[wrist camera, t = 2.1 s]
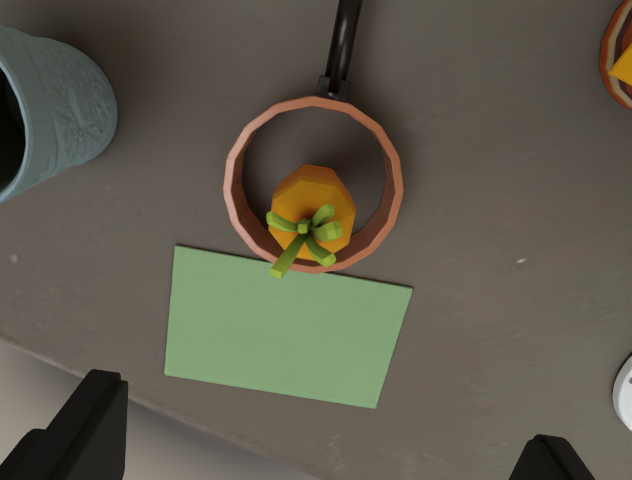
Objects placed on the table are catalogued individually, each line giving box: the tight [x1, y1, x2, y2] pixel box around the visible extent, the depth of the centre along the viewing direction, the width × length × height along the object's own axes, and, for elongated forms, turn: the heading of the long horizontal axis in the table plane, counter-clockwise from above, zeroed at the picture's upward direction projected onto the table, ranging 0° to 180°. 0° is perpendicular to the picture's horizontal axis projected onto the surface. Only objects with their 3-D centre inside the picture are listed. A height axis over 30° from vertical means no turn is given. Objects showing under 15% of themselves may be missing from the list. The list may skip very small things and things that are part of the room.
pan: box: [223, 0, 404, 274], centre depth 29 cm, size 22×12×4 cm, turn 169°
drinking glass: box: [0, 24, 118, 204], centre depth 25 cm, size 10×10×12 cm
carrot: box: [266, 164, 356, 278], centre depth 26 cm, size 5×5×15 cm
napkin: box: [164, 245, 413, 409], centre depth 37 cm, size 20×13×1 cm, turn 79°
